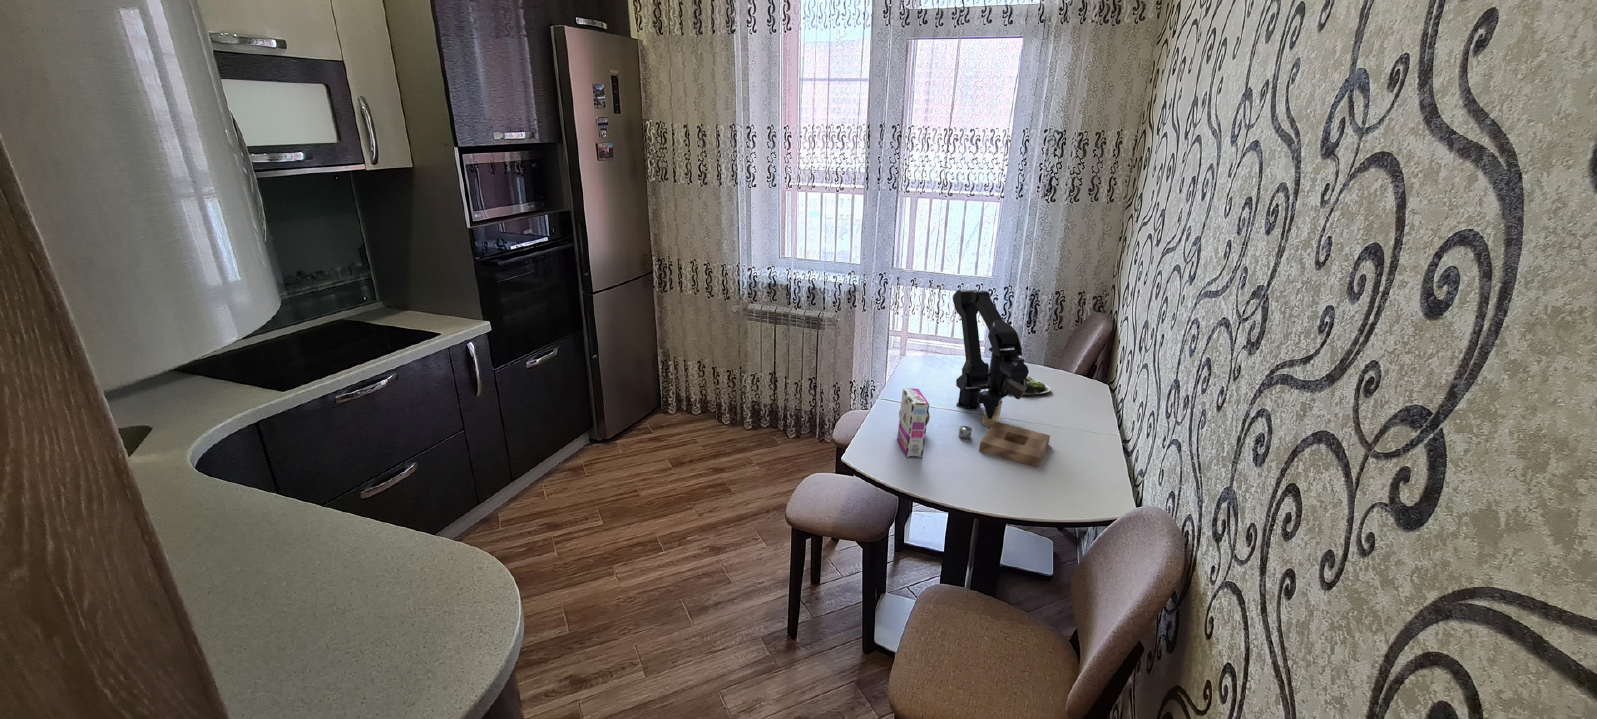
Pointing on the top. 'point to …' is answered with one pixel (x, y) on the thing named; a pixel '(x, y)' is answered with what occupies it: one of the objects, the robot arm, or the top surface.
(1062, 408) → the top surface
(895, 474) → the top surface
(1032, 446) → the hole block
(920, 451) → the candy bar box
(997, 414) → the tan cardboard cuboid
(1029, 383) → the salad plate
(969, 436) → the grey metal cylinder
